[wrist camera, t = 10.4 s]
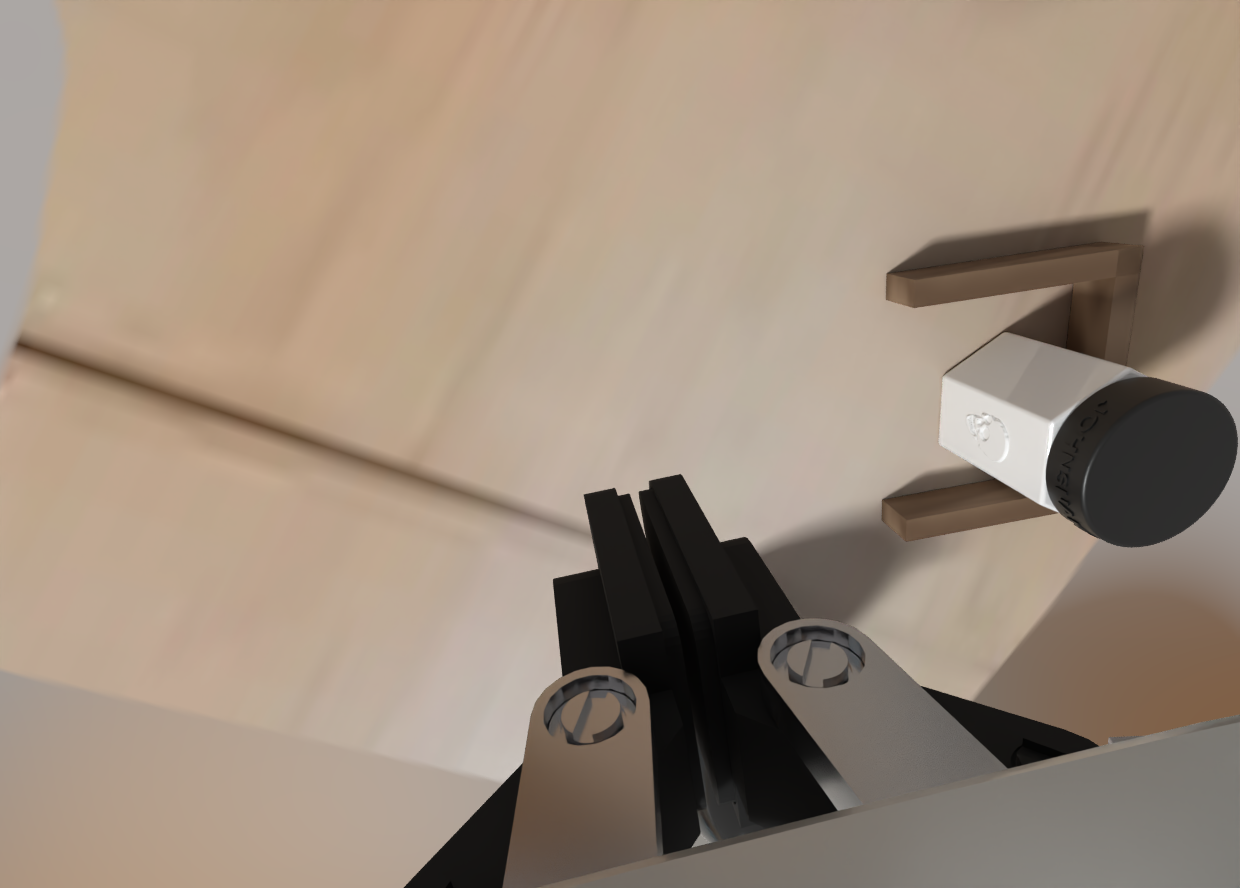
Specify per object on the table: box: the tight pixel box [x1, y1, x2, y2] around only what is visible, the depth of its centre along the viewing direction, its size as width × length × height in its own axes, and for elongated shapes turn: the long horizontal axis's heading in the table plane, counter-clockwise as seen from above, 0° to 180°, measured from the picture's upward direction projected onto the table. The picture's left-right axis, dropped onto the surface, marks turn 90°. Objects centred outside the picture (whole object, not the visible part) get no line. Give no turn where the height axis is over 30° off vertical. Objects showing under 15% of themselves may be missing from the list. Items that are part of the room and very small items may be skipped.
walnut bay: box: [882, 242, 1144, 542], centre depth 42 cm, size 16×14×3 cm
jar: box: [938, 332, 1238, 547], centre depth 38 cm, size 9×8×12 cm
